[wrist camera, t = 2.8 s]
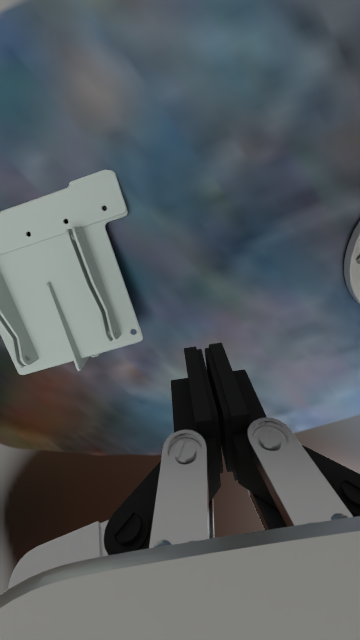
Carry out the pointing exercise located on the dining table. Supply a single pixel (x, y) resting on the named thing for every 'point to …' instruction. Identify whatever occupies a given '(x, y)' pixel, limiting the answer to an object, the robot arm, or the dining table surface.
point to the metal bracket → (64, 277)
